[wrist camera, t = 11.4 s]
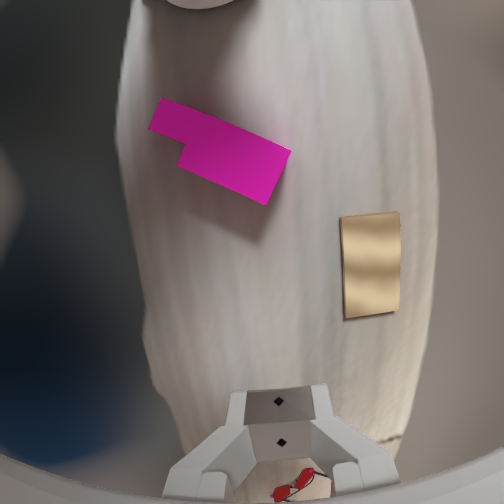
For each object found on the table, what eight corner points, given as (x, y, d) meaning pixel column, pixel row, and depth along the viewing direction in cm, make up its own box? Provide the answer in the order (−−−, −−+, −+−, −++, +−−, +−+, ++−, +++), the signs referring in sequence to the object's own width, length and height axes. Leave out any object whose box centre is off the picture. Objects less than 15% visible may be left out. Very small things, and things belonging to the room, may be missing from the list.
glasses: (310, 460, 55) (311, 478, 50) (364, 477, 57) (368, 493, 52) (269, 488, 58) (268, 505, 54) (323, 503, 60) (325, 518, 55)
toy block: (265, 205, 34) (266, 197, 41) (291, 151, 32) (287, 152, 39) (139, 150, 33) (161, 151, 40) (161, 97, 31) (179, 107, 38)
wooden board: (339, 216, 41) (341, 218, 40) (396, 211, 40) (399, 212, 39) (344, 314, 45) (345, 318, 43) (395, 306, 44) (398, 310, 43)
